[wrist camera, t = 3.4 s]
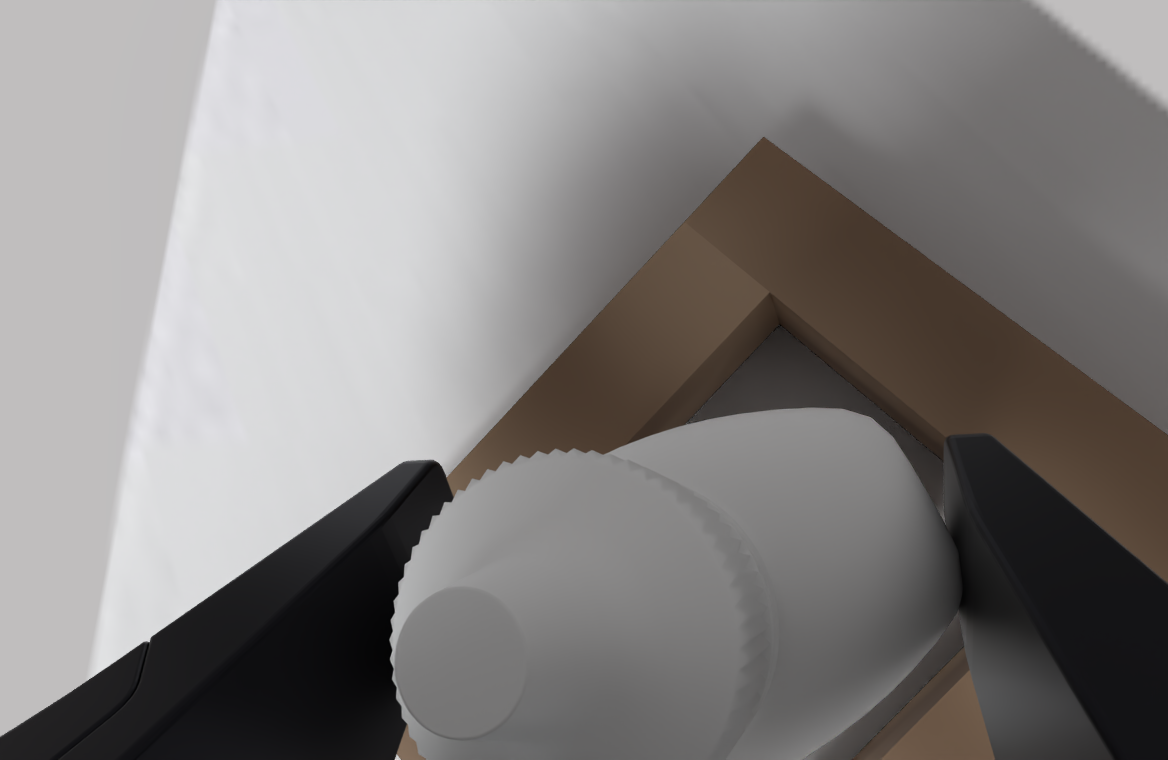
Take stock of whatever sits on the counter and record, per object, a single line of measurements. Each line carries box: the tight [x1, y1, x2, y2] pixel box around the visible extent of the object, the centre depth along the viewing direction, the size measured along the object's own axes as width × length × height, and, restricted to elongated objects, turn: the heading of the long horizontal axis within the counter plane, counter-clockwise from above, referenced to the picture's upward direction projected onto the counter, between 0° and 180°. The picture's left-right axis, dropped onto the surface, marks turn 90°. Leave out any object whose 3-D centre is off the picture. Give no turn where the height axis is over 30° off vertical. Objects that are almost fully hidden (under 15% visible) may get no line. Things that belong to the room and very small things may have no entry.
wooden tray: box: [397, 137, 1168, 760], centre depth 14 cm, size 12×10×2 cm
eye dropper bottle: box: [389, 408, 963, 760], centre depth 10 cm, size 4×6×12 cm
